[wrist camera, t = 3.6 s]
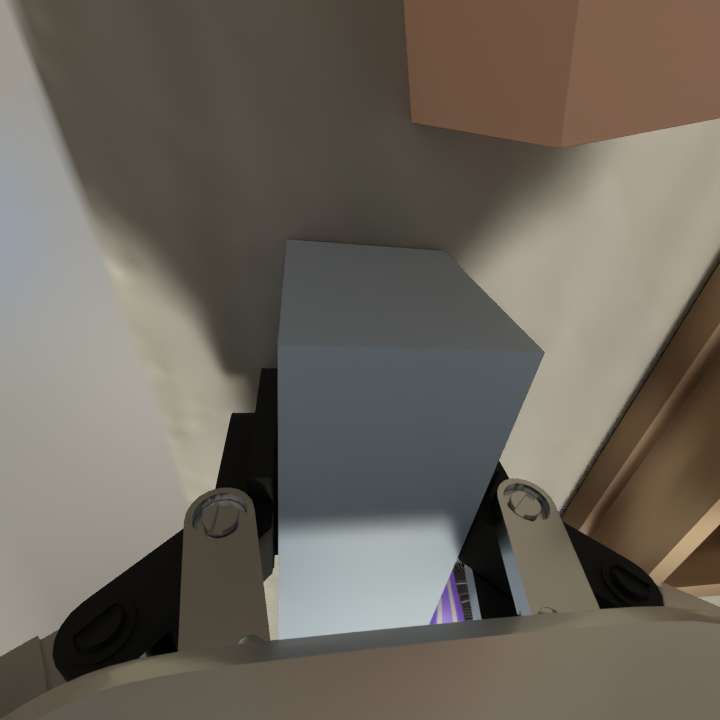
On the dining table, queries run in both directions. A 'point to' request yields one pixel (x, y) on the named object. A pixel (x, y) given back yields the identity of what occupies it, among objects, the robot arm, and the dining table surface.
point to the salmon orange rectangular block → (563, 67)
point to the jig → (666, 464)
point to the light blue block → (385, 429)
